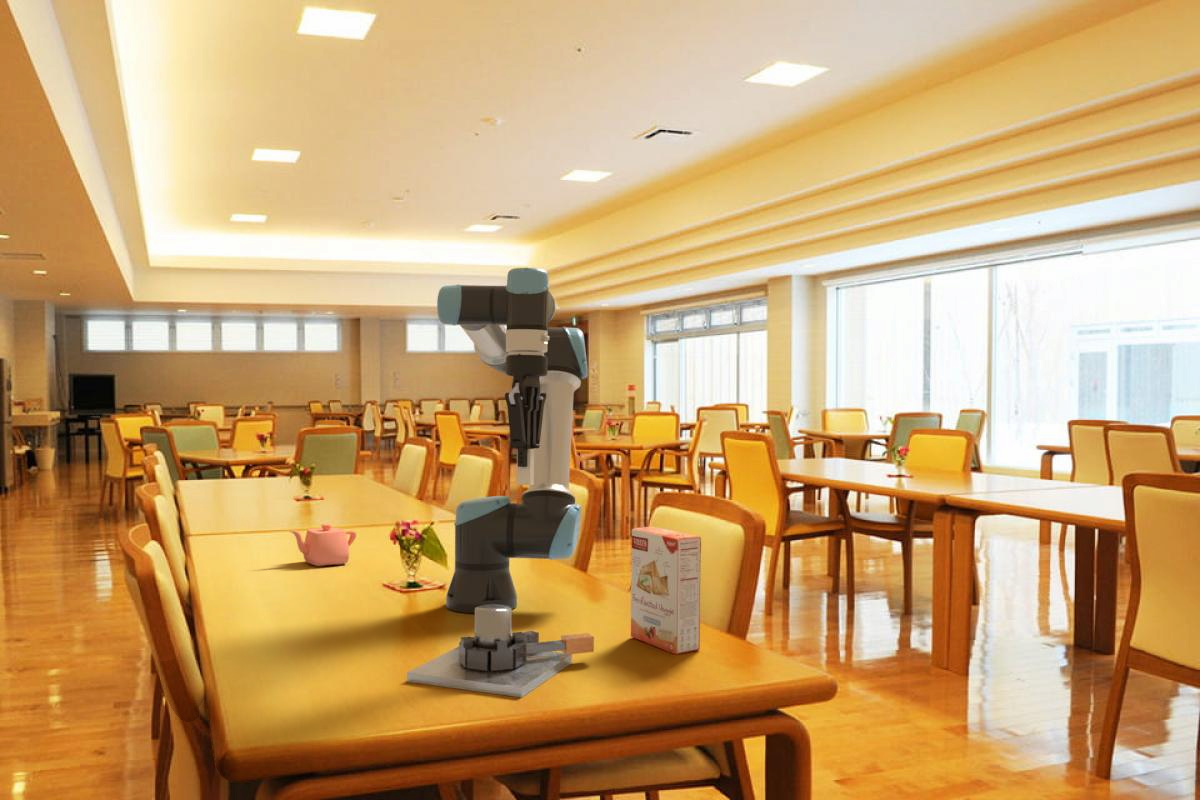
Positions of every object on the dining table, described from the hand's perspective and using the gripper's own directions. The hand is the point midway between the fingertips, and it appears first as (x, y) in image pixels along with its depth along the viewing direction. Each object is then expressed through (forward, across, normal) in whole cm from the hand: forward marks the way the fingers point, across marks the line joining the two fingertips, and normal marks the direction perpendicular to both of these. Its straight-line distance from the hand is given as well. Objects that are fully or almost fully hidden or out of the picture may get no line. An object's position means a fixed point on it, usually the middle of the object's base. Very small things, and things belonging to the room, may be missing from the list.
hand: (525, 484), depth 173 cm
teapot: (+30, +53, +83) cm, 103 cm away
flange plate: (+29, -16, -2) cm, 34 cm away
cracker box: (+30, +12, -23) cm, 39 cm away
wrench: (+28, -12, -6) cm, 31 cm away
